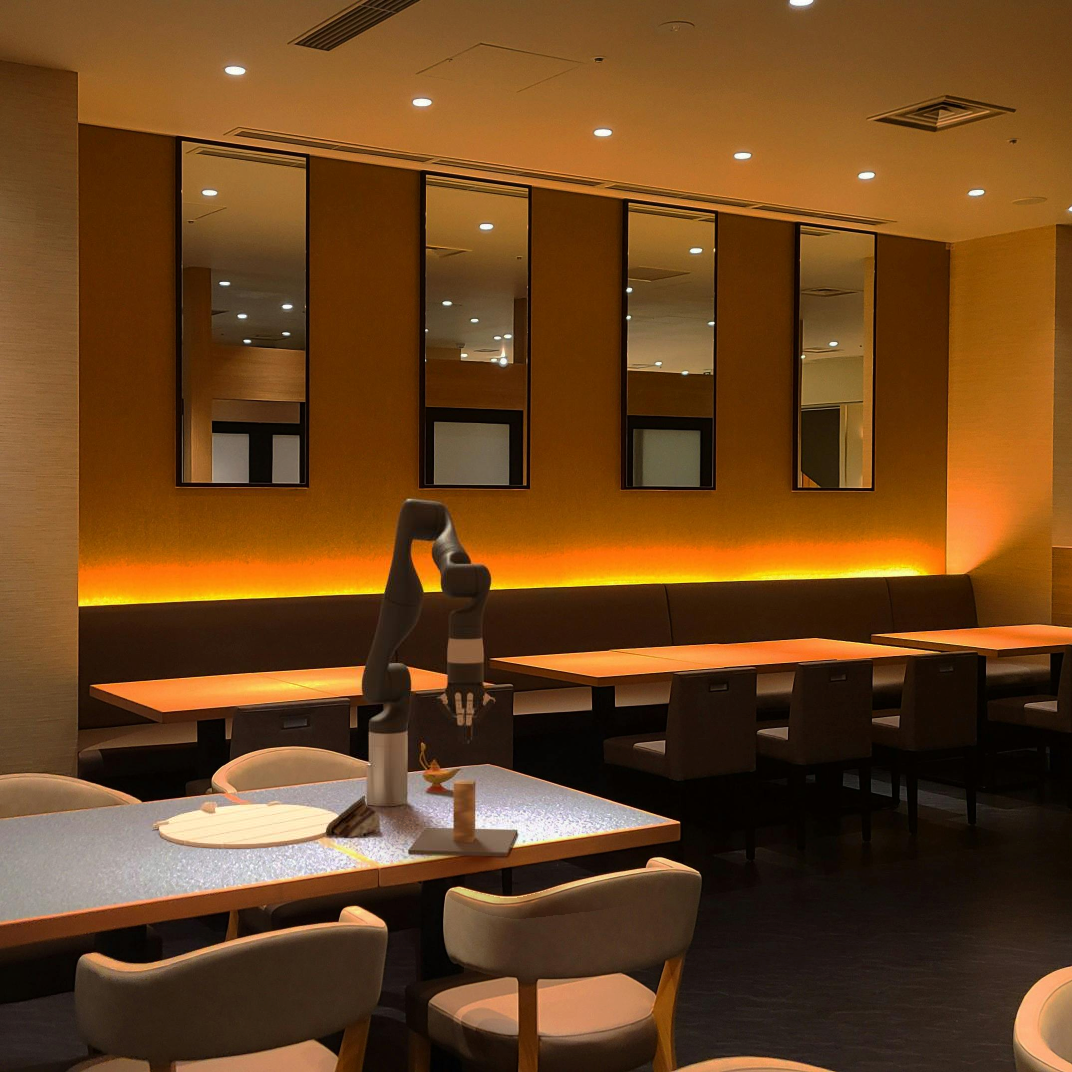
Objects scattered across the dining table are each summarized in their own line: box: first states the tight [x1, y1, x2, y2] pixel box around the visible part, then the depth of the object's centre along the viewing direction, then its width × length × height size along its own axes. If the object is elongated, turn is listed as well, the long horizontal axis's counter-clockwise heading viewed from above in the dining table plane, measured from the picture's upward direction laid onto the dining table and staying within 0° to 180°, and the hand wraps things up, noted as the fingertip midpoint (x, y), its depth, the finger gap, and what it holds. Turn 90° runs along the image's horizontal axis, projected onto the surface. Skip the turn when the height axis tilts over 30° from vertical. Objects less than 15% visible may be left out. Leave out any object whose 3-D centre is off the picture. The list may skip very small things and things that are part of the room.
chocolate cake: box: [326, 795, 381, 839], centre depth 282 cm, size 10×7×12 cm
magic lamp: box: [419, 742, 463, 793], centre depth 328 cm, size 7×18×11 cm, turn 40°
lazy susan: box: [151, 800, 339, 849], centre depth 288 cm, size 40×39×3 cm
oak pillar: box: [452, 779, 476, 842], centre depth 272 cm, size 4×4×12 cm
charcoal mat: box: [407, 827, 518, 857], centre depth 272 cm, size 20×20×1 cm
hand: (465, 742), depth 273 cm, fingers closed
